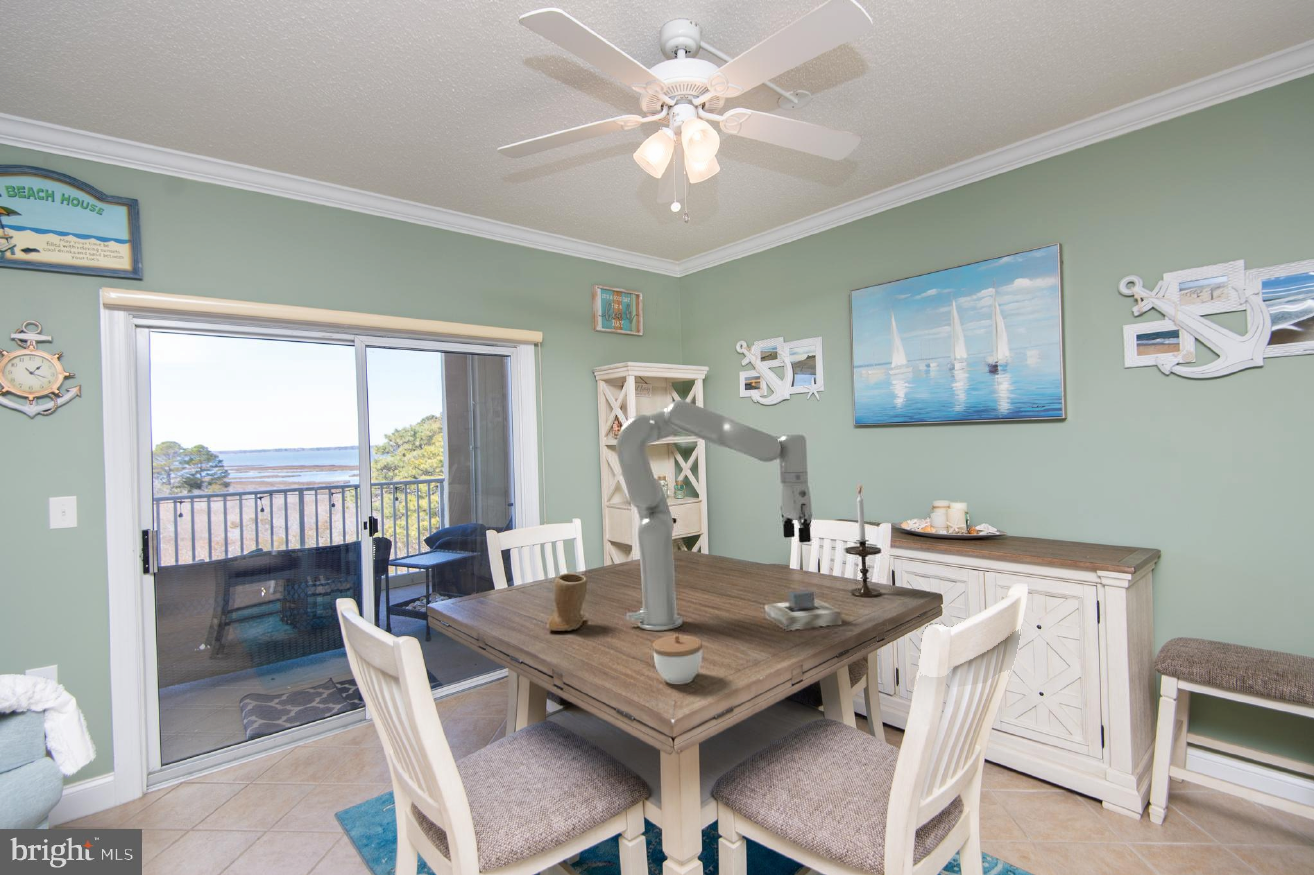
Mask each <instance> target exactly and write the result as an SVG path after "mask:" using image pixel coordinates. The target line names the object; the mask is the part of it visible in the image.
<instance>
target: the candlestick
mask: <svg viewBox="0 0 1314 875" xmlns="http://www.w3.org/2000/svg"><path fill="white" fill-rule="evenodd" d="M862 486H863V485H862V484H861V485H860V487H859V490H858V497H857V498H856V505H857V506H856V507H857V520H858V521H857V522H858V523H857V524H858V536H859V537H858V539H857V540H855V541H856V542H858V545H856V546H855V545H854V546H847V547H845V549H844V550H845V553H846V554H847V555H848V554H849V555H853V556H858V558H861V559H860V560H861V567H860V568H859V572H860V574H861V577H860V579H861V580H862V585H861V587H856V588H852V589H851V590H850V595H851V596H853V597H857V598H858V597H859V598H866V599H867V598H878V597H880V596H881V594H882V592H881V590H880V589H877V588H873V587H869V585H868V580H869V579H870V578H869V577H868V573H869V572H870V570H869V569H868V568H867V557H869V556H875V555H879V554H881V553H882V549H881V547H878V546H871V545H867V542H870V540H868V539H866V528H865V527H866V525H865V523H866V522H865V511H864V510H865V509H864V508H865V507H864V499H863V498H862V495H861V494H862V488H863V487H862Z"/></svg>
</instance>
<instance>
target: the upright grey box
mask: <svg viewBox="0 0 1314 875" xmlns="http://www.w3.org/2000/svg"><path fill="white" fill-rule="evenodd" d="M787 593H788V602H789V611H791V612H799V611H808V610H815V604H814V599H815V592H814V591H812V590H810V589H802V590H801V589H799V590H792V591H788V592H787Z"/></svg>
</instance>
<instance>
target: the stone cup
mask: <svg viewBox="0 0 1314 875" xmlns="http://www.w3.org/2000/svg"><path fill="white" fill-rule="evenodd" d="M553 588H554V589H553V599H554V603H555V608H556V609H555V610H556V611H555V612H554V613H553V615H552V616H551V617H550V619H549V620H548V622H547V626H546V627H547V629H548V630H550V631H557V632H563V631H564V632H565V631H566V630H567V631H573V629H574V630H576V629H578V628H580V626H582V624H583V621H584V620H585V616H586V613H584V612H583V611H582V608H583V604H584V602H585V599H586V596H587V592H588V580H587V577H585V576H584V575H582V574H579V573H575V572H574V573H573V572H572V573H571V572H570V573H569V572H568V573H567V572H566V573H562V574H559V575H558V576H557V577H556V578H555V581H554V587H553ZM567 631H566V632H567Z"/></svg>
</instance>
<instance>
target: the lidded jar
mask: <svg viewBox="0 0 1314 875" xmlns="http://www.w3.org/2000/svg"><path fill="white" fill-rule="evenodd" d="M652 643H653V644H652V652H653V659H654V660H653V662H654V665H655V668H656V670H657V672H658V674H659V675H660V676H661V677H662V678H663V679H664V681H665V682H666V683H668V684H671V685H686V684H689V683H690V682H692V681H693V680H694V678H695V677H696V676H697V674H698V673H699V671H700V669H701V665H702V659H703V658H702V657H703V650H702V648H703V643H702V640H701V639H700V638H697V637H695V636H691V635H685V634H684V635H679V634H674V635H670V636H669V635H668V636H664V637H660V638H659V639H656V640H655V641H654V642H652Z"/></svg>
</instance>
